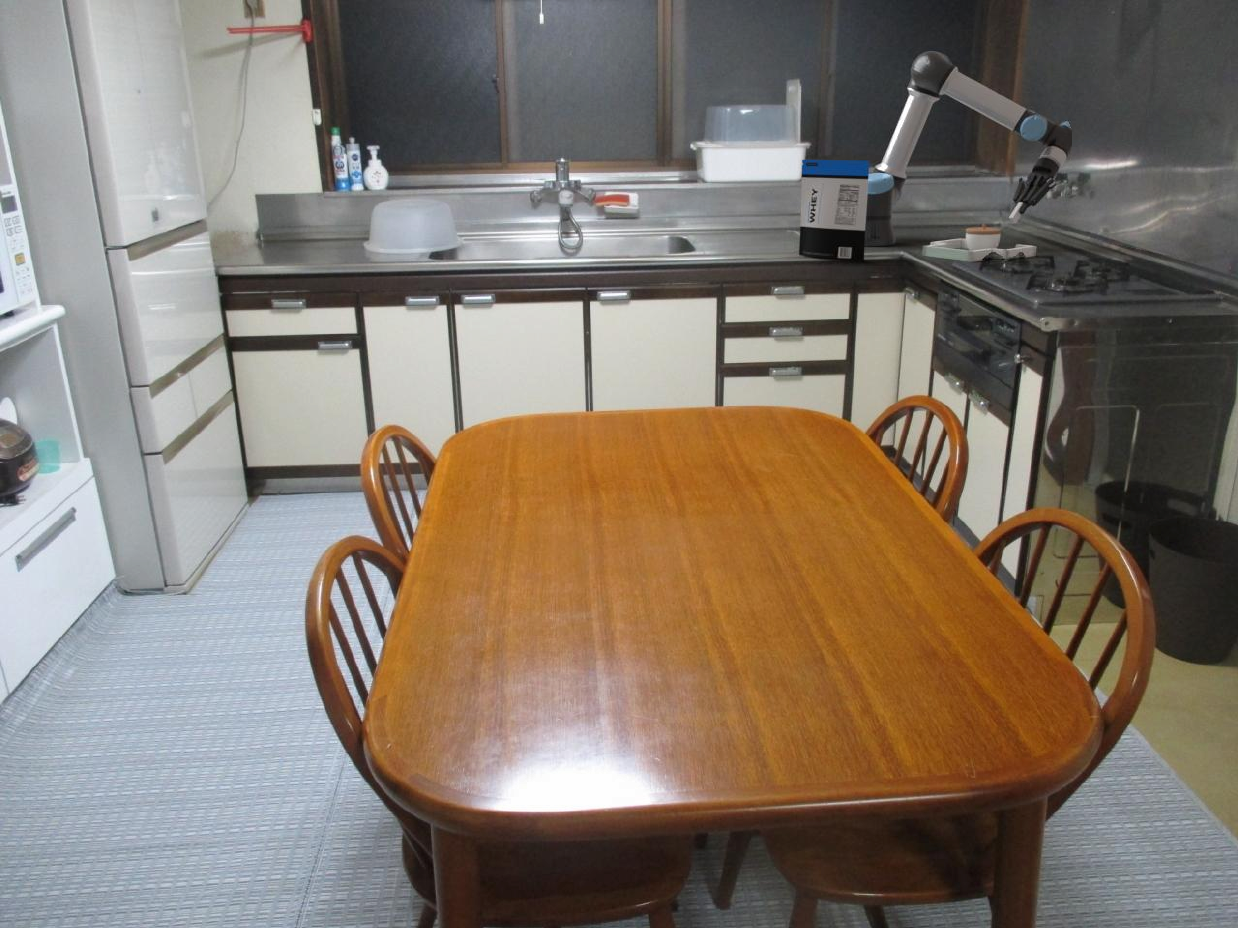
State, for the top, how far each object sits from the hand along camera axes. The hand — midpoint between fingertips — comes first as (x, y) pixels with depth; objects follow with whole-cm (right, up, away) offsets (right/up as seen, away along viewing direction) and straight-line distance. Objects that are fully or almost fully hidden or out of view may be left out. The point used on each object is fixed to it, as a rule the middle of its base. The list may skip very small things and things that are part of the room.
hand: (1012, 220), depth 331 cm
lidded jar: (-11, -12, -3) cm, 16 cm away
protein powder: (-60, -13, -4) cm, 61 cm away
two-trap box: (-15, -12, -5) cm, 20 cm away
